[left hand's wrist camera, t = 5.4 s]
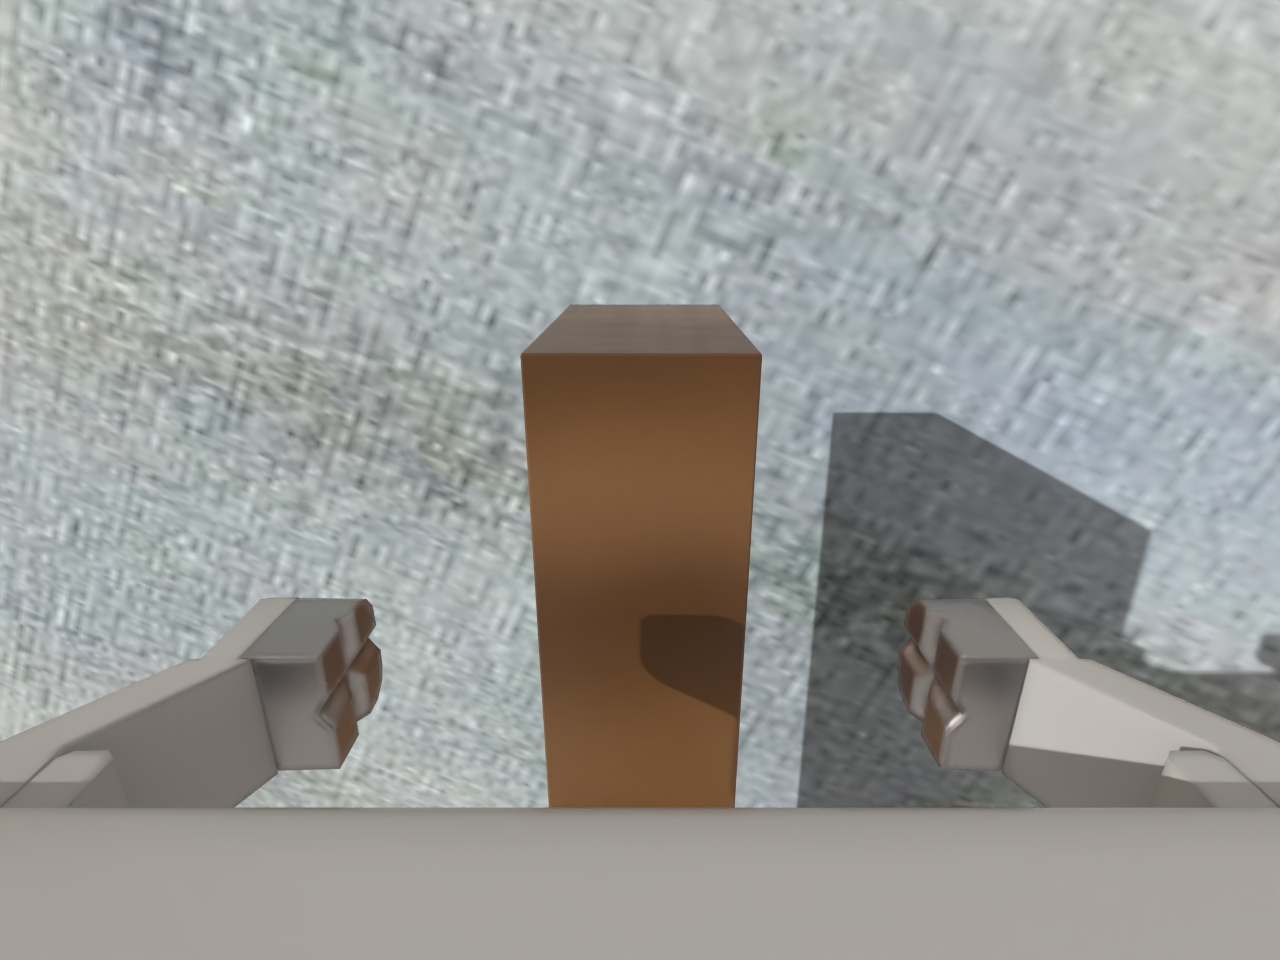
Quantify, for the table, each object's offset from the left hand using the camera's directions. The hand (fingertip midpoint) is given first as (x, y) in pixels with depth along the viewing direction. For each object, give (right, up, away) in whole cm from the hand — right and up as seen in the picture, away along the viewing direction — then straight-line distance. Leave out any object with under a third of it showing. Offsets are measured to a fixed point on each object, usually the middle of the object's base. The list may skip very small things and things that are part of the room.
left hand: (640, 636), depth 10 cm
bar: (0, -5, +15) cm, 16 cm away
